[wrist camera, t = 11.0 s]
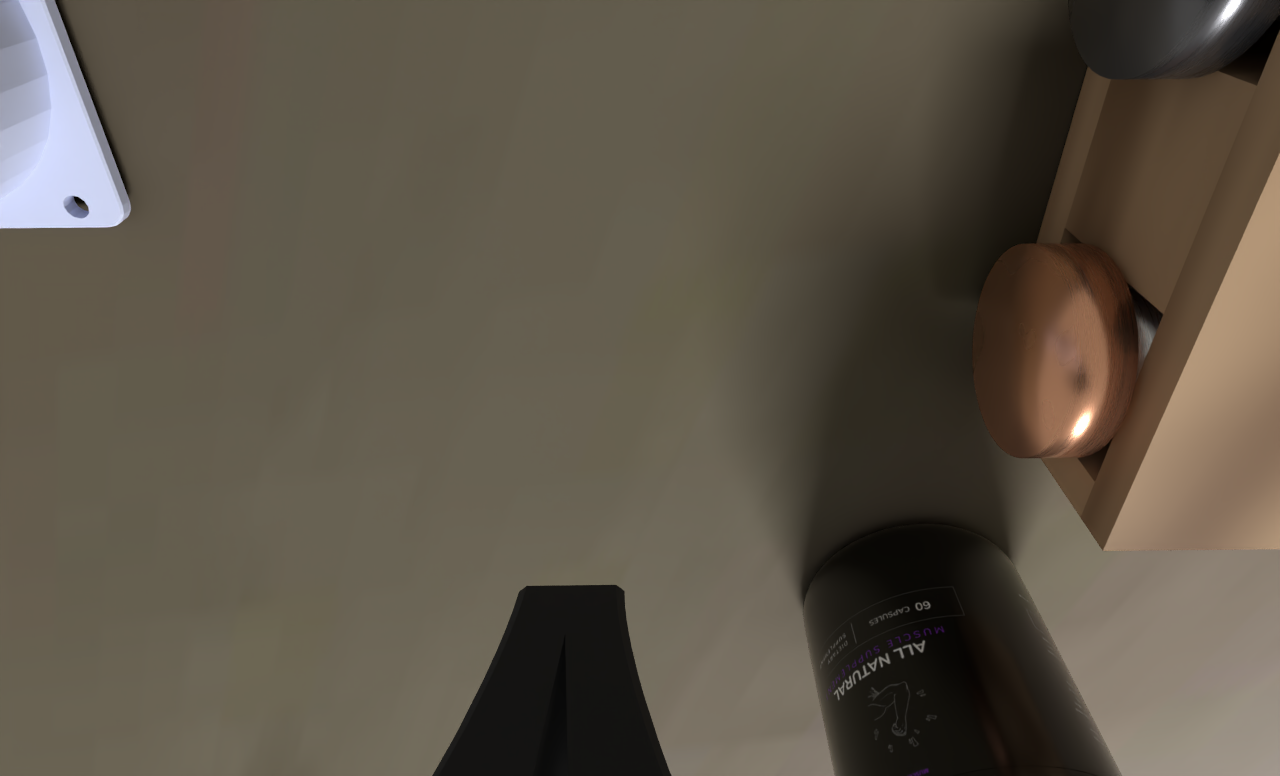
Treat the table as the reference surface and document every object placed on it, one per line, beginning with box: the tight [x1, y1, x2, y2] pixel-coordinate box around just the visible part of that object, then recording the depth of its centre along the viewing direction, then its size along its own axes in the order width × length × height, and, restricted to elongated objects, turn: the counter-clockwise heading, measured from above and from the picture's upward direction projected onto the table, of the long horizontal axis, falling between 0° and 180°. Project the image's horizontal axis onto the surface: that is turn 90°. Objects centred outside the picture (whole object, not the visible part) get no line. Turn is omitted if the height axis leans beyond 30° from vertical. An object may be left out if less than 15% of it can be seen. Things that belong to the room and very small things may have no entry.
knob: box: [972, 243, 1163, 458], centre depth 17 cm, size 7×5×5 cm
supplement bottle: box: [803, 524, 1122, 776], centre depth 21 cm, size 7×7×12 cm
